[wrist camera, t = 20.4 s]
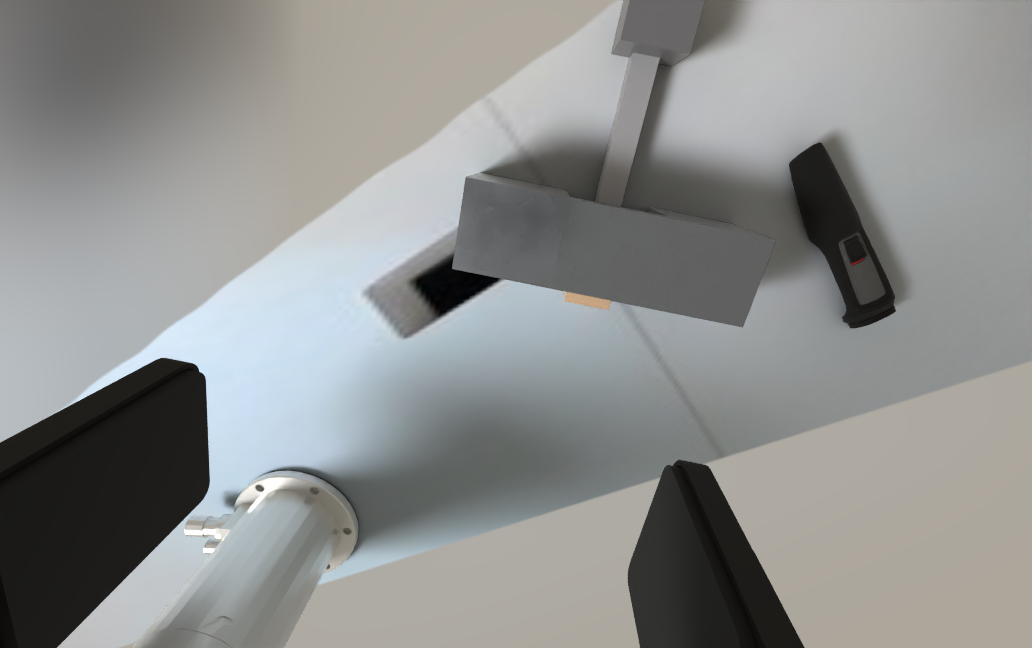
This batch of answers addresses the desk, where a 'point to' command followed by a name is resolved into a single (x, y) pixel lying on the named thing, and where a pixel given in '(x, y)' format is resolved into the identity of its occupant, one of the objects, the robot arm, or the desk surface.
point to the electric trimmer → (841, 237)
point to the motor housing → (609, 250)
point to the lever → (640, 87)
